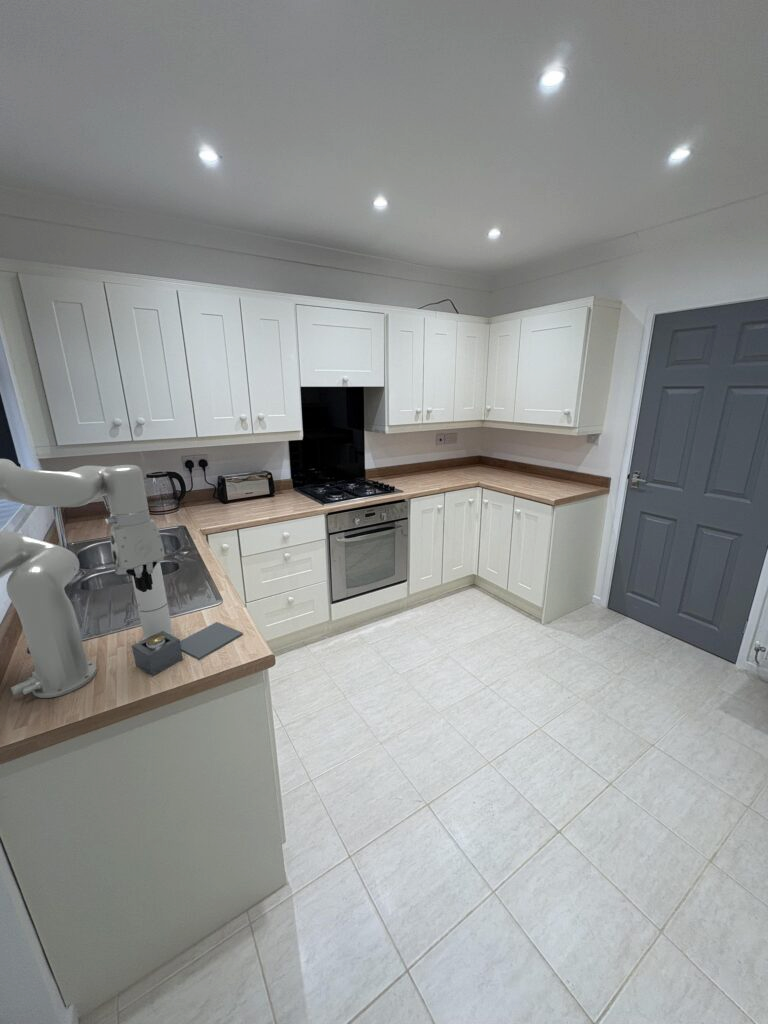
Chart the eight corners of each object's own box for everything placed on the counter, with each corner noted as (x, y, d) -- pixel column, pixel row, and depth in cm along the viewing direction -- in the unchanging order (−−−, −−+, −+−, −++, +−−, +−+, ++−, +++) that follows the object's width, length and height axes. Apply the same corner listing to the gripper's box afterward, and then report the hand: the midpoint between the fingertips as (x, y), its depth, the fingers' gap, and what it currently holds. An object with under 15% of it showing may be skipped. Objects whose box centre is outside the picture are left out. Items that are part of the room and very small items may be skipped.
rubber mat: (199, 660, 106) (198, 658, 105) (173, 646, 112) (172, 644, 112) (243, 634, 117) (242, 632, 117) (217, 623, 123) (217, 621, 123)
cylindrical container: (166, 629, 120) (152, 551, 114) (177, 638, 116) (163, 556, 109) (140, 640, 115) (124, 558, 108) (151, 649, 111) (134, 565, 104)
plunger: (155, 664, 102) (151, 645, 100) (146, 658, 104) (142, 640, 102) (171, 655, 105) (167, 636, 104) (162, 650, 107) (158, 632, 106)
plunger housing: (152, 676, 100) (148, 655, 98) (135, 666, 104) (131, 645, 102) (183, 659, 106) (179, 639, 104) (166, 650, 110) (162, 630, 109)
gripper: (103, 529, 86) (119, 606, 91) (171, 512, 99) (182, 581, 104) (87, 524, 90) (104, 598, 95) (155, 509, 103) (166, 575, 107)
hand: (145, 589), depth 99 cm, fingers closed
